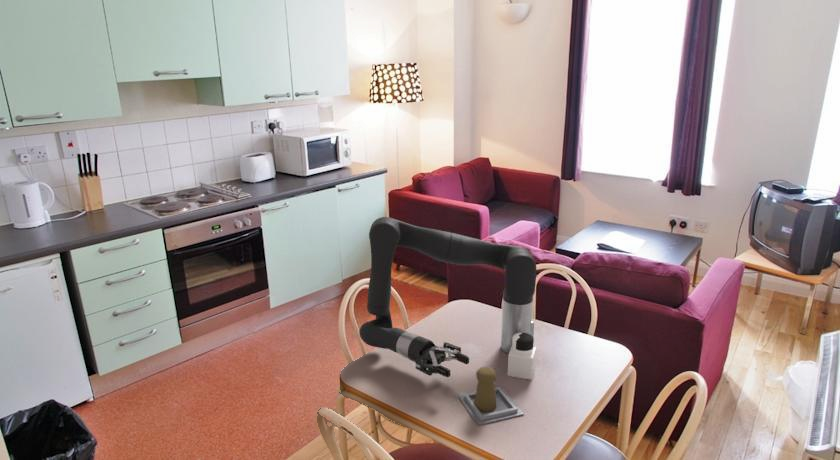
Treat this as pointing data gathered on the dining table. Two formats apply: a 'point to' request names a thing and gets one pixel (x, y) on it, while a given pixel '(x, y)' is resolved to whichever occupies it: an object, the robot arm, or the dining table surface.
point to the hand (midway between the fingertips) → (459, 367)
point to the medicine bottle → (522, 356)
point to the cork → (485, 390)
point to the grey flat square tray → (502, 411)
